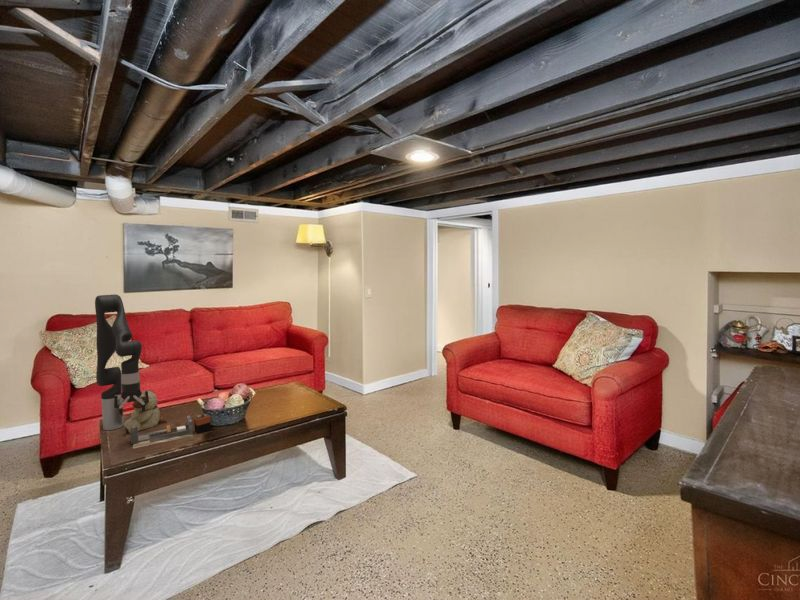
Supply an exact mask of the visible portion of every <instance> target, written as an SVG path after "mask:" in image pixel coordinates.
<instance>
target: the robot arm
mask: <svg viewBox="0 0 800 600" xmlns="http://www.w3.org/2000/svg"><path fill="white" fill-rule="evenodd" d="M94 309H95V317H96V319H95V320H96V357H97V360H96V361H97V362H96V373H95V374H96V384H97V386H98V387H106V386H110V385H112V386H111V387H109V388H107V389H106V390H104V391H102V392H101V394H100V399H101V401H100V402H101V414H102V428H103V430H104V431H113V430H117V429H120V428H122V427H124V423H125V422H124V411H123V410H124V408H123V407H124V405H125V404H126V403H128V404H129V403H131V402H132V403H134V402H135V401H139V402H140V403H141V404H142V412H144V411H145V404H146V403H149V397H148V391H149V390H147V389H146V390H142V391H141V377H140V371H139V370H140V369H139V363H140V357H141V354H142V350H143V344H142V343H141V341H140V340H138V339H137V340H132V338H133V333H132V331H131V329H130V326H129V323H128V320H127V315H126V312H125V306H124V302H123V300H122V297H121V296H120V295H119V294H103V295H97V296H95V300H94ZM107 313H116V314H117V315H116V317H115V319H114V321H113V322H112V325H110V323H109V322H108V321H107V319H106V316H105V314H107ZM114 353H115V354H116V355H117V356H119V357H124V358H125V357H129V358H128V359H126V360H124V361H121V364H120V367H121V368H120V367H119V366H114V367H106V366H107V364H108V361H110V359H111V357H112V356H113V355H114ZM130 356H131V357H130ZM141 394H143V395H144V396H146V400H145V401H144V400H142V399H141V398H140V396H141Z"/></svg>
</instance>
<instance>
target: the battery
mask: <svg viewBox="0 0 800 600" xmlns="http://www.w3.org/2000/svg"><path fill="white" fill-rule="evenodd" d="M193 420H194V423H193V424H194V433H196V435H199V434H200V435H201V434H203V433H206V432H210V431H211V430H212V429H211V424H212V423H211V415H209V414H207V413H204V414H202V415H201V414H197V415H196V416H195V417H193Z"/></svg>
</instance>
